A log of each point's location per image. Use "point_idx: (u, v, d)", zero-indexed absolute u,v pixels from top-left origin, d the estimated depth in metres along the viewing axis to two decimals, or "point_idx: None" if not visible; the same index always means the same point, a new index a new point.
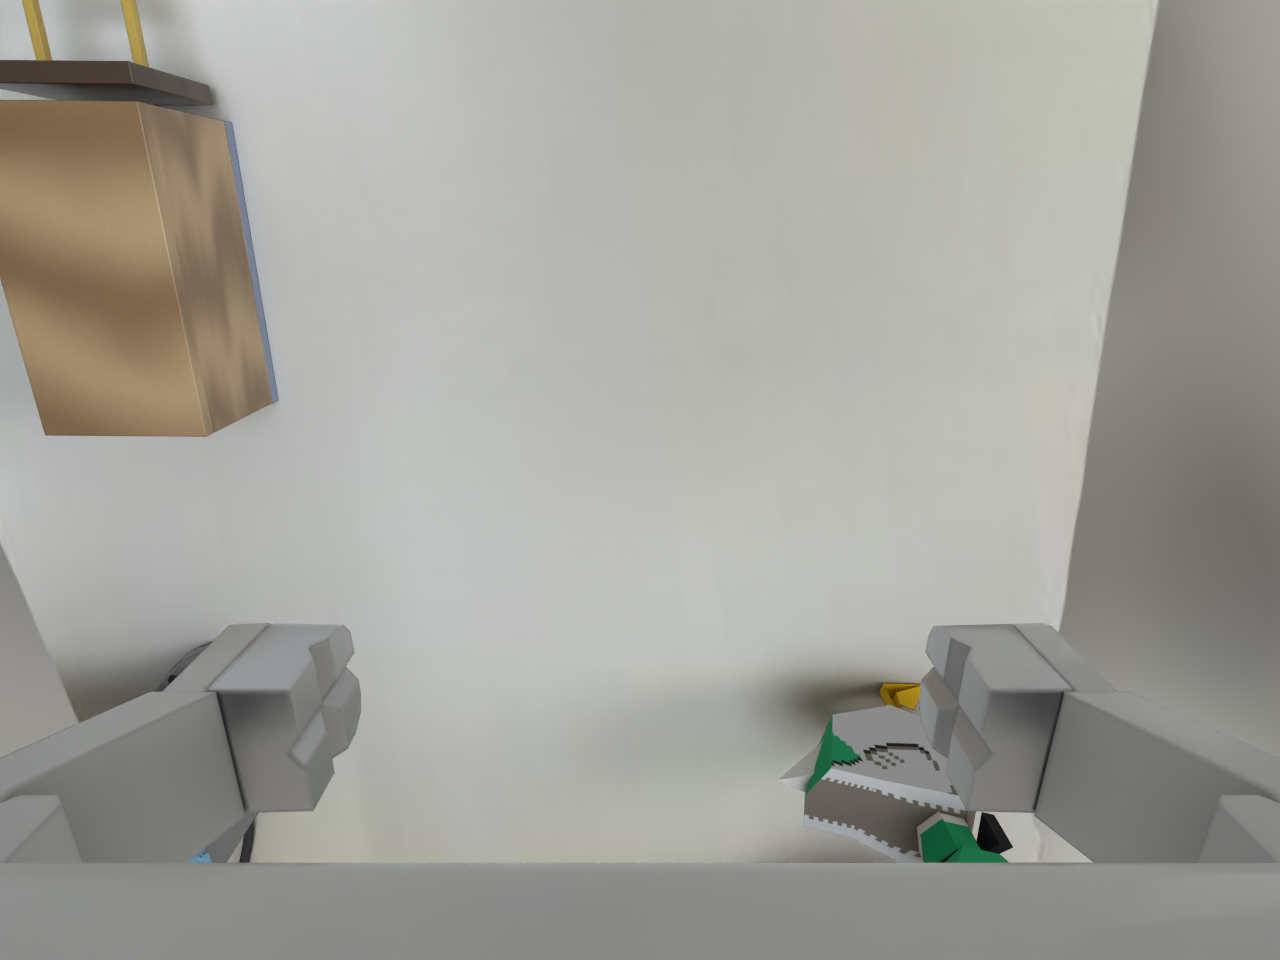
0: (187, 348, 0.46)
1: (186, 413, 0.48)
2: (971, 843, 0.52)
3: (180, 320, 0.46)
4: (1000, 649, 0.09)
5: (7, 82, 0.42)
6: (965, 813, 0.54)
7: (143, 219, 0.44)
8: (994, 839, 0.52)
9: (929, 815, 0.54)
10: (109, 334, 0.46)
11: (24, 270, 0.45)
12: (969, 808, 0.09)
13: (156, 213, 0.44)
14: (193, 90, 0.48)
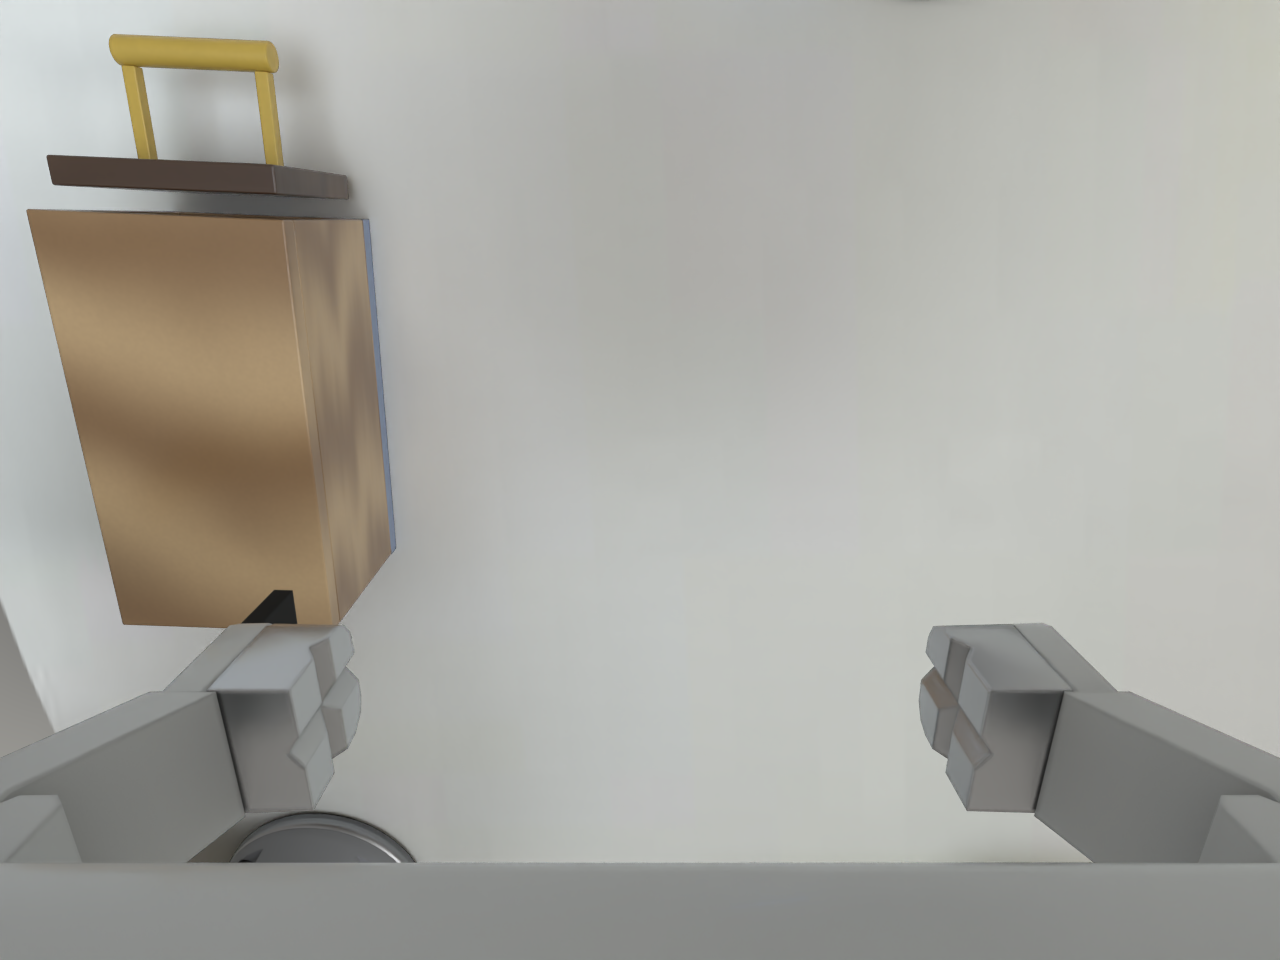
0: (319, 527, 0.35)
1: (310, 604, 0.37)
2: None
3: (313, 493, 0.35)
4: (1000, 649, 0.09)
5: (104, 186, 0.31)
6: None
7: (276, 368, 0.33)
8: None
9: None
10: (218, 508, 0.35)
11: (111, 427, 0.34)
12: (969, 808, 0.09)
13: (295, 362, 0.33)
14: (332, 186, 0.37)
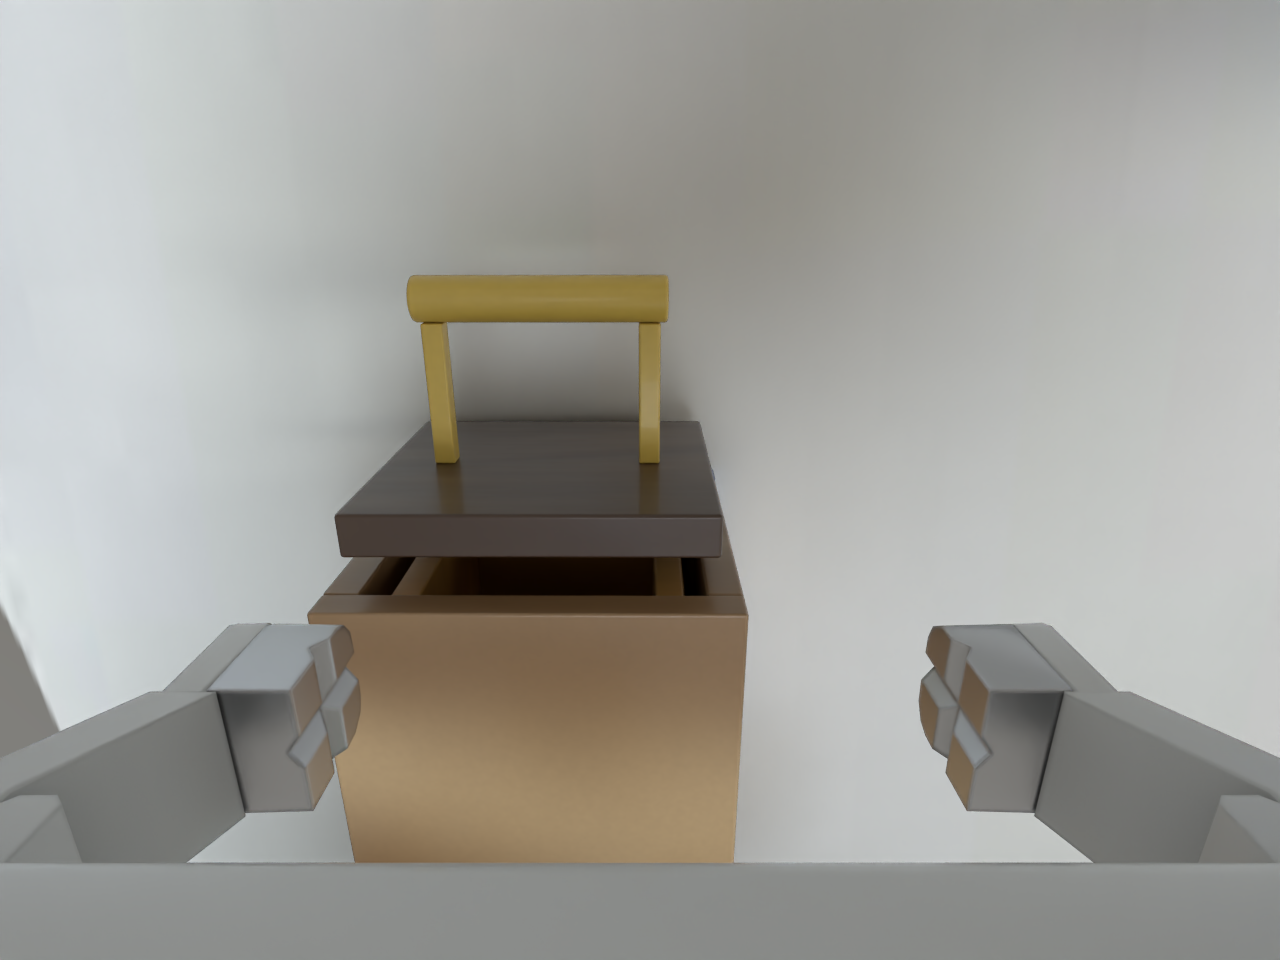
0: None
1: None
2: None
3: None
4: (1000, 649, 0.09)
5: (428, 556, 0.18)
6: None
7: (696, 815, 0.20)
8: None
9: None
10: None
11: None
12: (969, 808, 0.09)
13: (728, 807, 0.20)
14: None
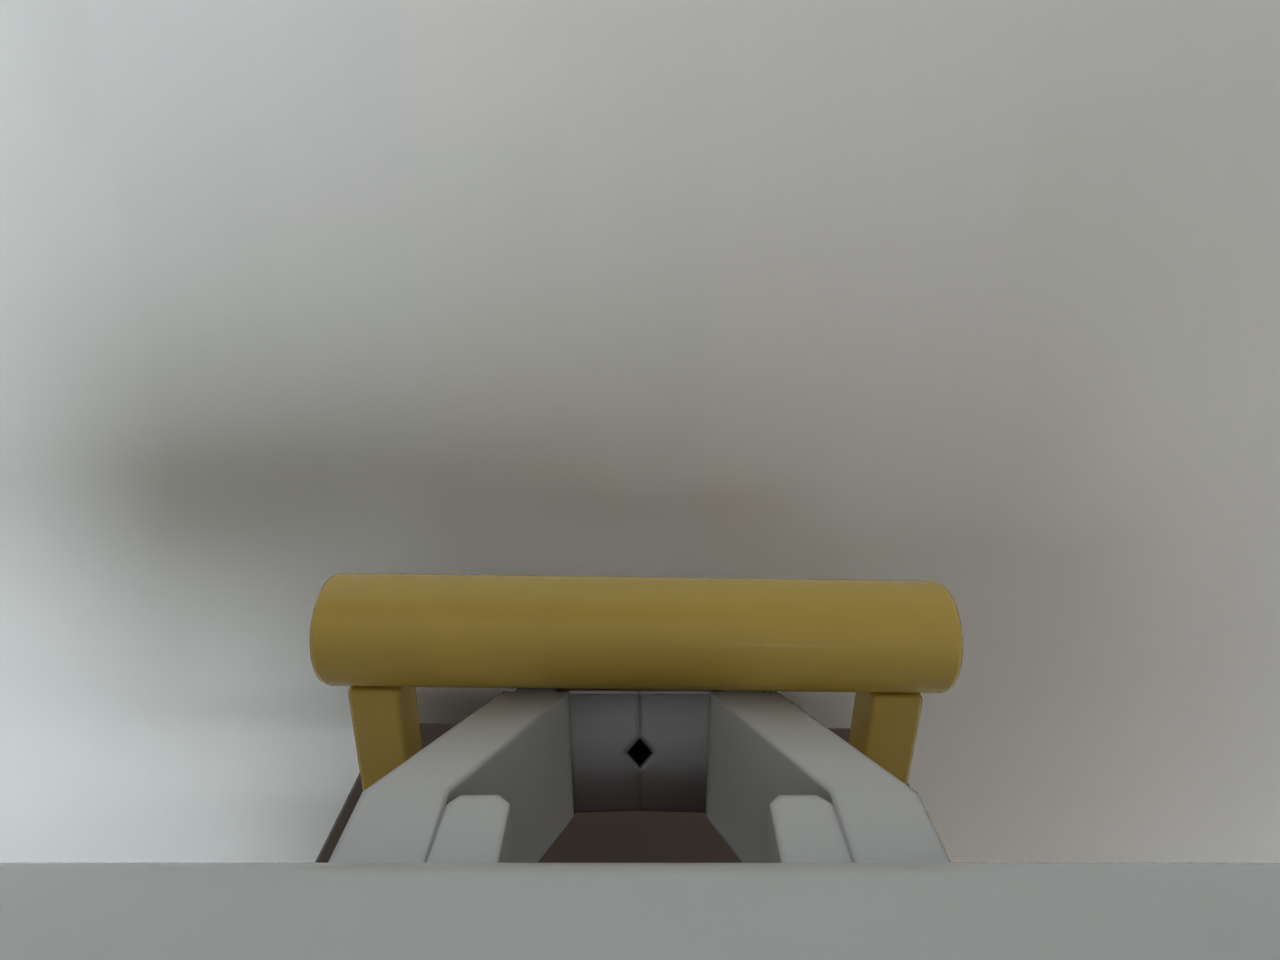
0: None
1: None
2: None
3: None
4: None
5: None
6: None
7: None
8: None
9: None
10: None
11: None
12: (643, 808, 0.09)
13: None
14: None
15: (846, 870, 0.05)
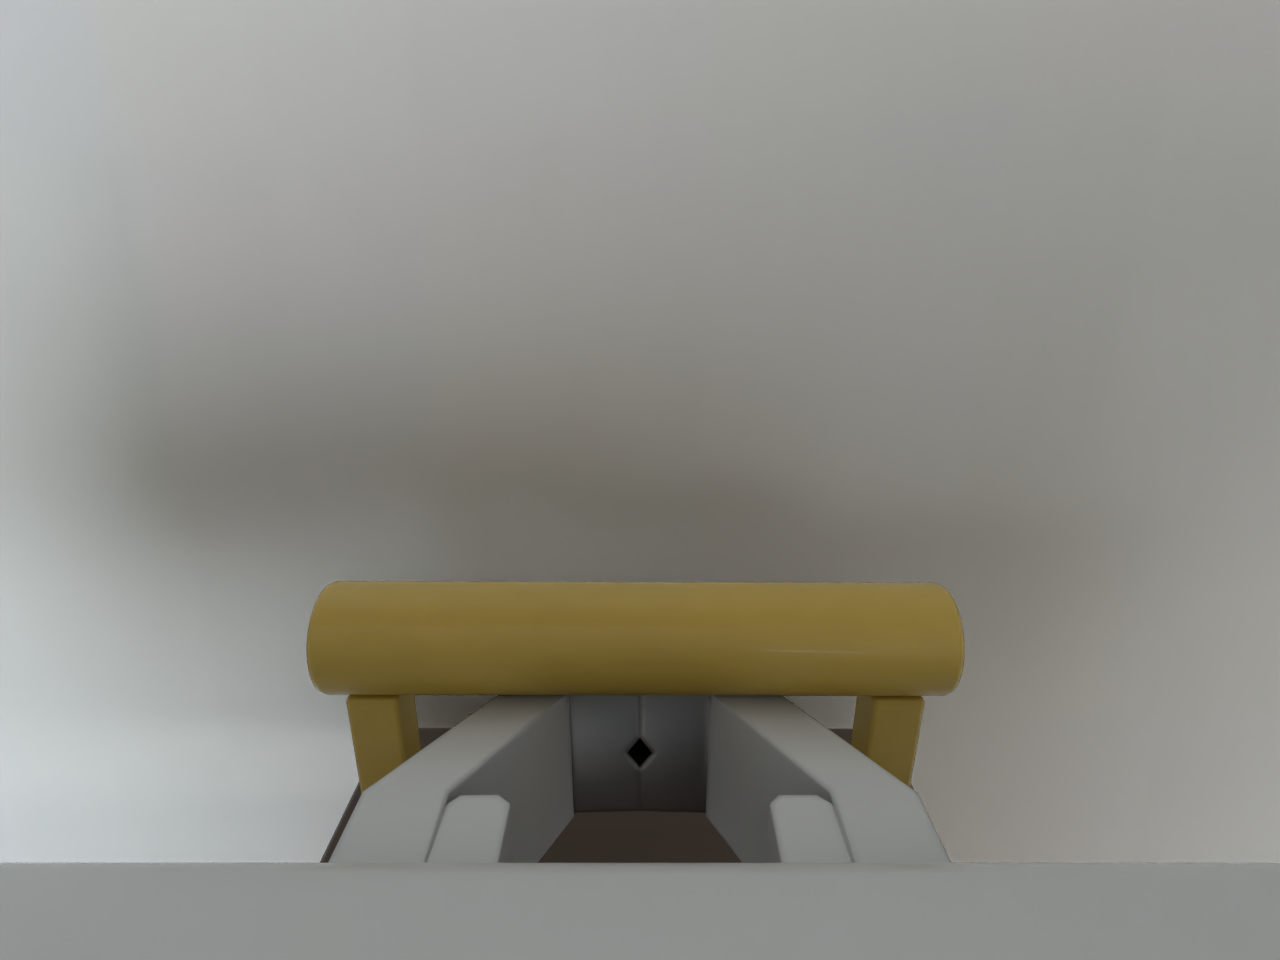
0: None
1: None
2: None
3: None
4: None
5: None
6: None
7: None
8: None
9: None
10: None
11: None
12: (643, 808, 0.09)
13: None
14: None
15: (846, 870, 0.05)
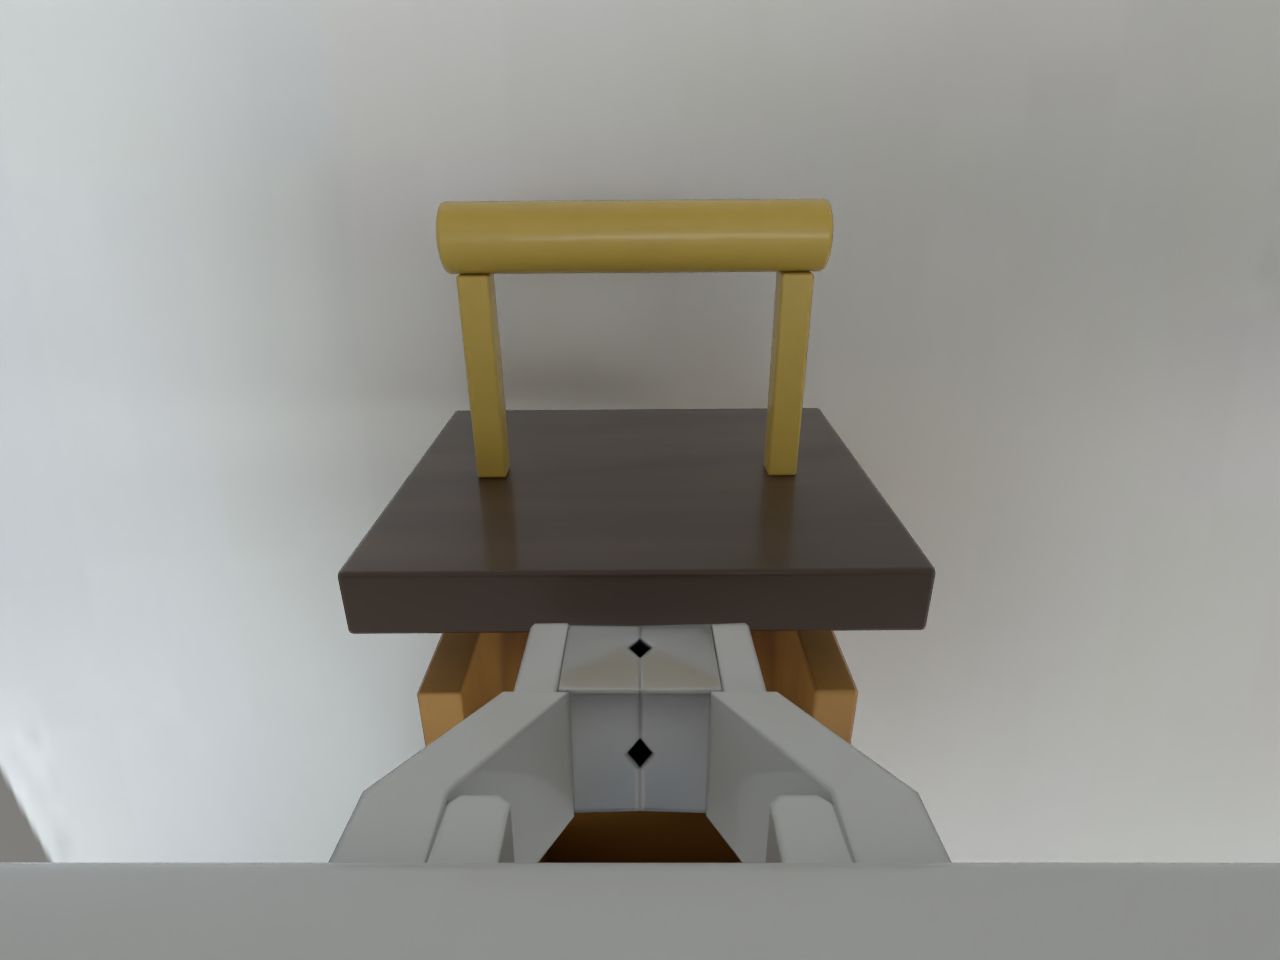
0: None
1: None
2: None
3: None
4: (679, 649, 0.09)
5: (482, 631, 0.12)
6: None
7: None
8: None
9: None
10: None
11: None
12: (644, 807, 0.09)
13: None
14: None
15: (845, 870, 0.05)
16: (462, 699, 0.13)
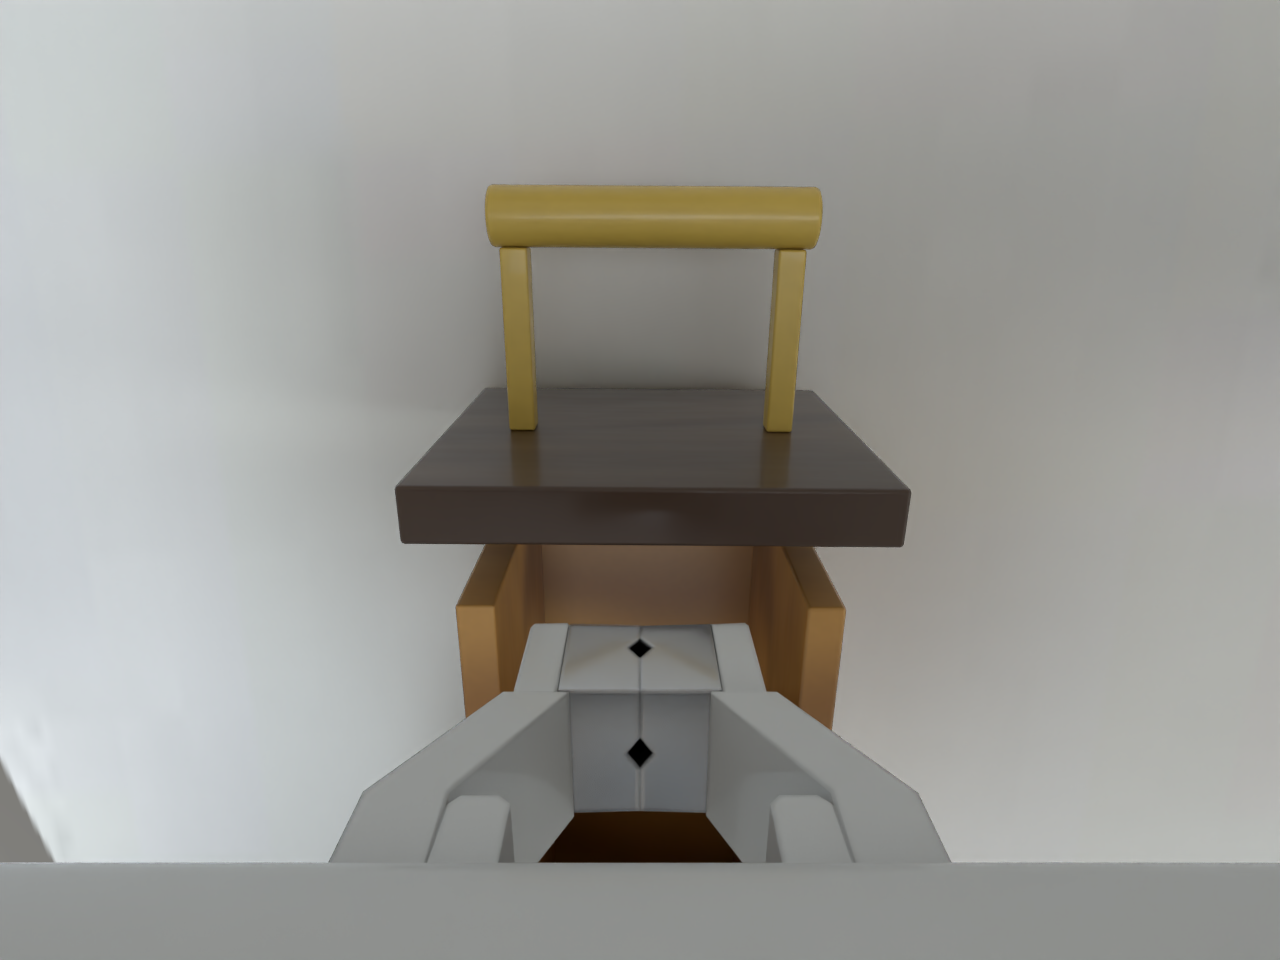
0: None
1: None
2: None
3: None
4: (679, 649, 0.09)
5: (517, 543, 0.14)
6: None
7: None
8: None
9: None
10: None
11: None
12: (644, 808, 0.09)
13: None
14: None
15: (846, 870, 0.05)
16: (495, 612, 0.15)
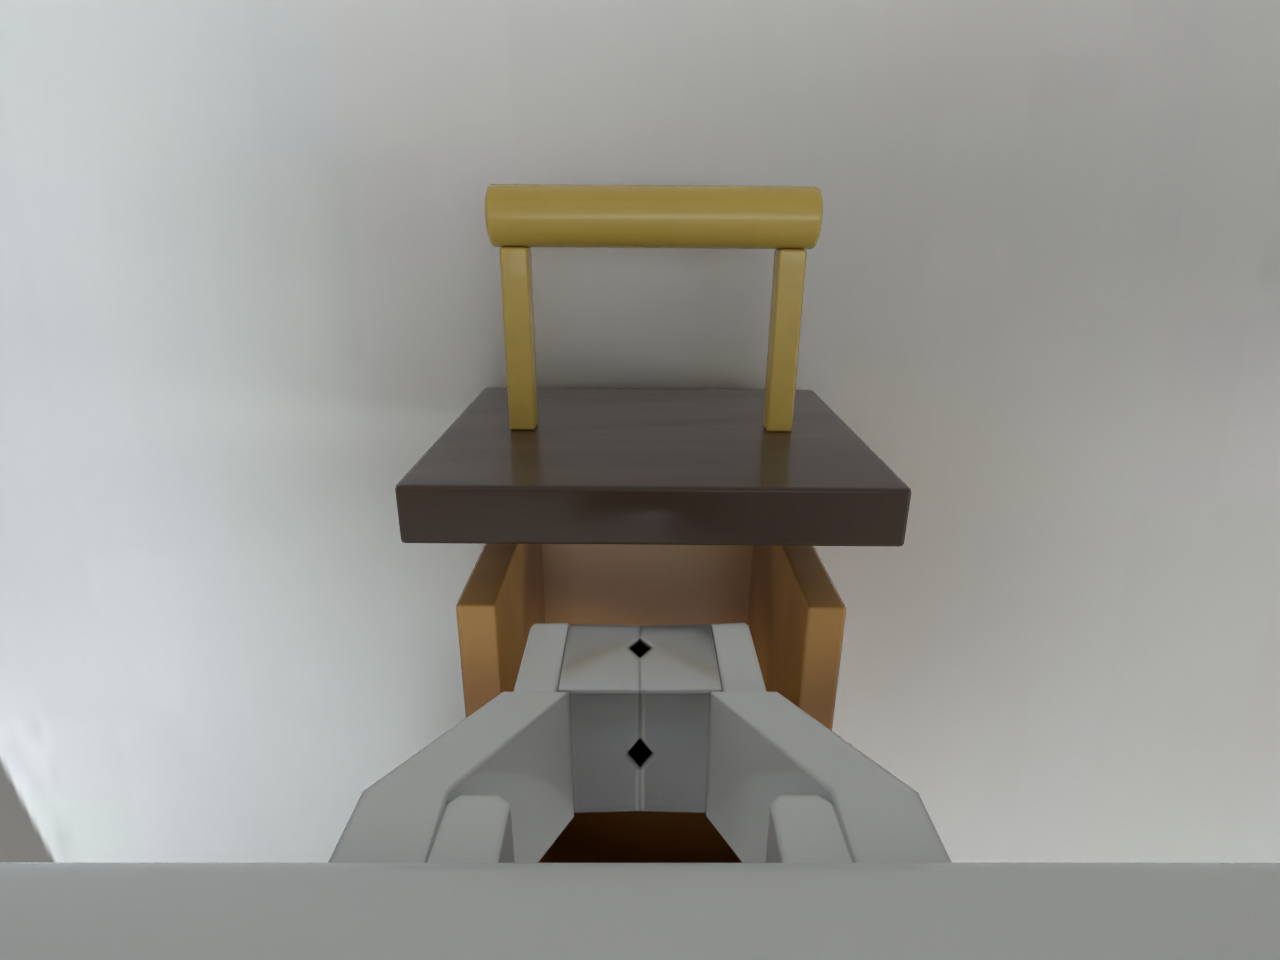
0: None
1: None
2: None
3: None
4: (679, 649, 0.09)
5: (517, 542, 0.14)
6: None
7: None
8: None
9: None
10: None
11: None
12: (644, 808, 0.09)
13: None
14: None
15: (846, 870, 0.05)
16: (496, 611, 0.15)
